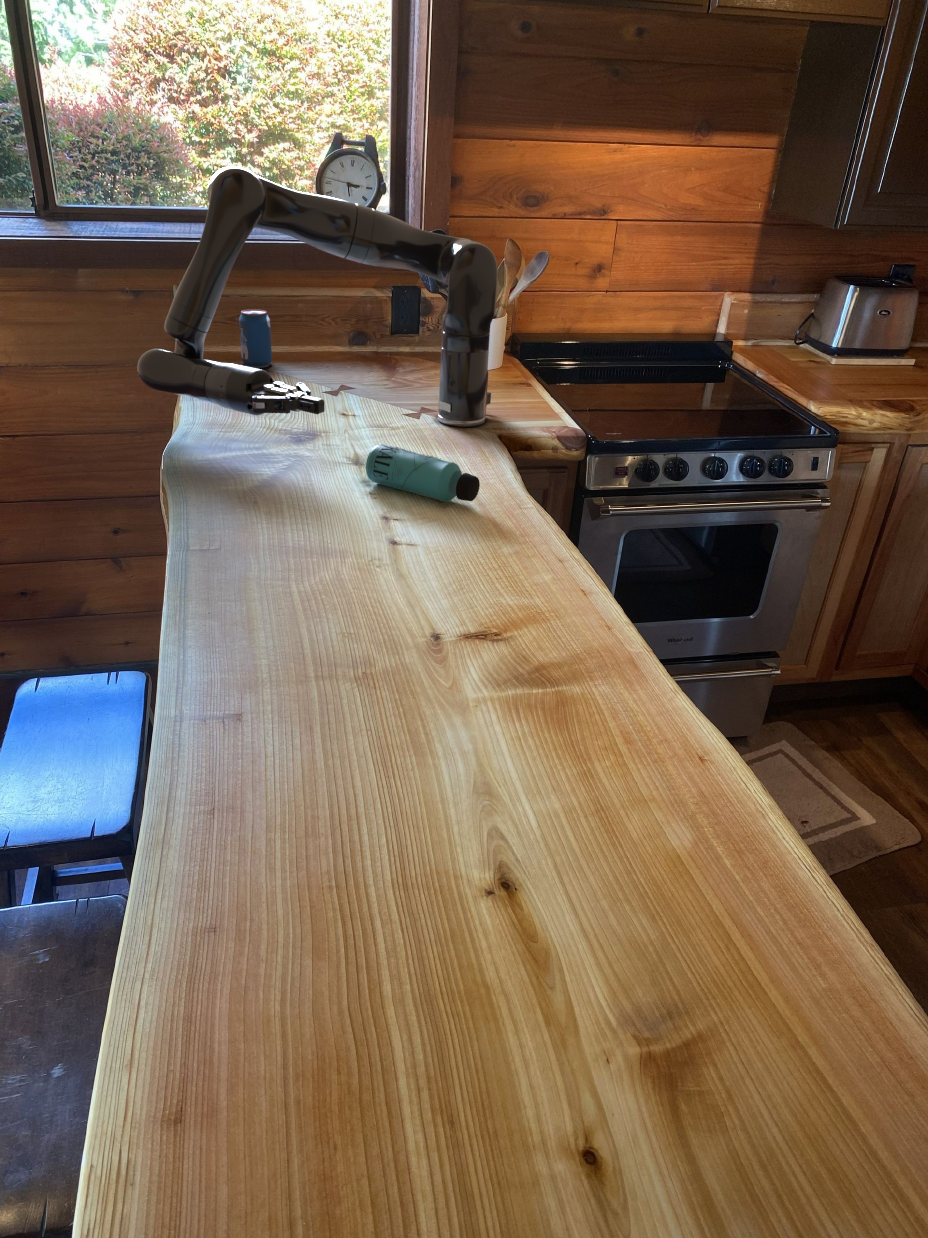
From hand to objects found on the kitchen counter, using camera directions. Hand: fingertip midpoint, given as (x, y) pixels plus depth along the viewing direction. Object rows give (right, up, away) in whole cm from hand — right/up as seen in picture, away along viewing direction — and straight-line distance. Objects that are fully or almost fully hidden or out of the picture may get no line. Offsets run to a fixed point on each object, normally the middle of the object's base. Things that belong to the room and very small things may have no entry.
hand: (321, 406), depth 144 cm
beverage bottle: (+7, -8, +1) cm, 11 cm away
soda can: (-25, +25, +66) cm, 75 cm away
